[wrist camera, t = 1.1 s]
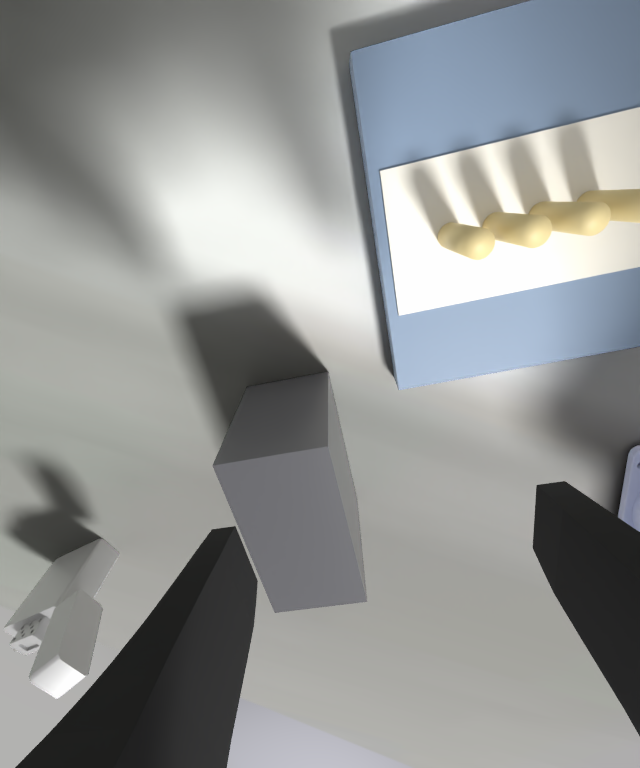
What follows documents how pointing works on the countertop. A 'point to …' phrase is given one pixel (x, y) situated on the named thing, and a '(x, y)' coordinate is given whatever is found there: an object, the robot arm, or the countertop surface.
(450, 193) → the header board
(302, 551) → the block
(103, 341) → the countertop surface
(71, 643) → the lighter
